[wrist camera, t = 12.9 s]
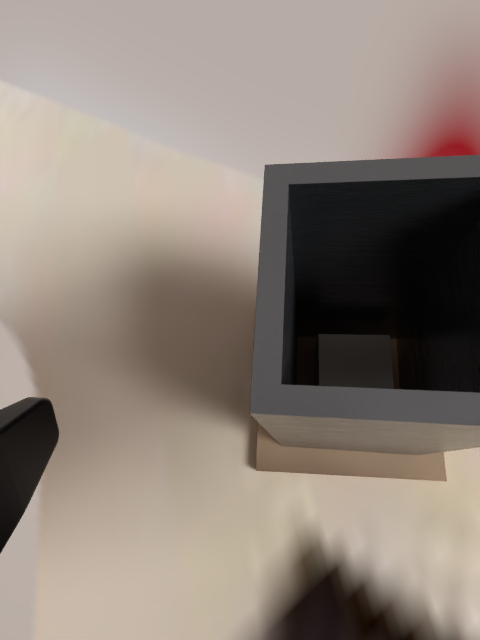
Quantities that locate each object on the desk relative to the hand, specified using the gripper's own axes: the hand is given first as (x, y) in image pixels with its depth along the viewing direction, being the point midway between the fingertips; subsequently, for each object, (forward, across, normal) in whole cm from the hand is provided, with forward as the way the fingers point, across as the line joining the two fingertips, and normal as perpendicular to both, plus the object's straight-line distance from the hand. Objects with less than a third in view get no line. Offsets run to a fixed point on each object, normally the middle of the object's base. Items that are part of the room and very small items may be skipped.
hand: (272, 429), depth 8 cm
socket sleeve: (+11, -3, +6) cm, 13 cm away
